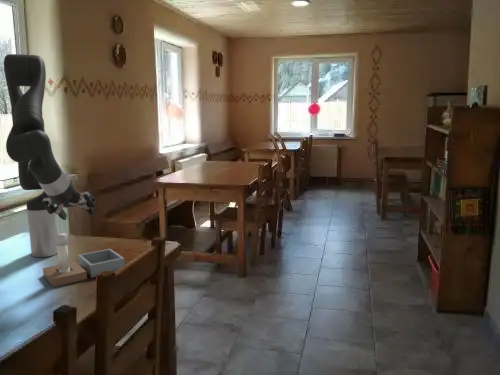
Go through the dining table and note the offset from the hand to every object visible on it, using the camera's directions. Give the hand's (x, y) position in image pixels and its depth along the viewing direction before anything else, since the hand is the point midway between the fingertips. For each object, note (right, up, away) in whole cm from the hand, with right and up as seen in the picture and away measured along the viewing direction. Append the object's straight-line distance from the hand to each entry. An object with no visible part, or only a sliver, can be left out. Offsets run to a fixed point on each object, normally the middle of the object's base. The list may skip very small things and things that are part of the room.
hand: (78, 215), depth 146 cm
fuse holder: (-4, -19, 0) cm, 20 cm away
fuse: (-4, -20, 0) cm, 20 cm away
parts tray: (+5, -18, +7) cm, 20 cm away
